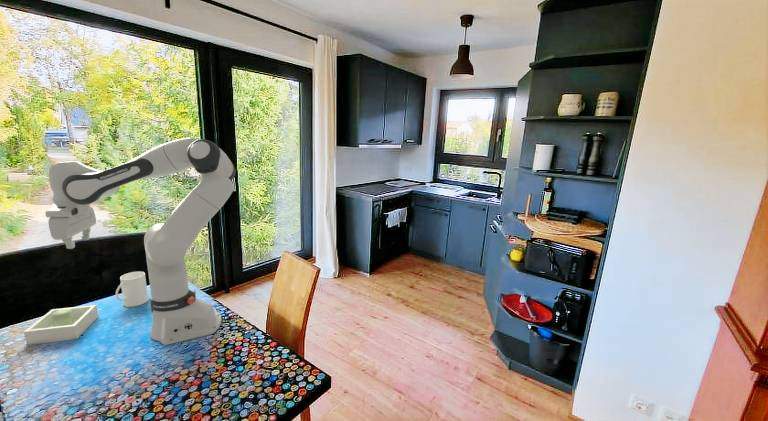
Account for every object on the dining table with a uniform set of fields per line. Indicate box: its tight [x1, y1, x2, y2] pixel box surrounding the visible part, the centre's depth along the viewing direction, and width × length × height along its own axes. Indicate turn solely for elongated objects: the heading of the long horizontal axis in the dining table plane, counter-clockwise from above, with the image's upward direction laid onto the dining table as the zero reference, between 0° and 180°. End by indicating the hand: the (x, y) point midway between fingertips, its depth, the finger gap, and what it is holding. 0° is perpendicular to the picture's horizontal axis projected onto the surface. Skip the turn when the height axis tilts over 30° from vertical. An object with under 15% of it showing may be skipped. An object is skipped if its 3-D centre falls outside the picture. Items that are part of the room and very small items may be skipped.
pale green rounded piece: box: [51, 309, 74, 327], centre depth 108 cm, size 5×5×6 cm
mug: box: [115, 271, 150, 308], centre depth 127 cm, size 12×8×12 cm
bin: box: [23, 304, 99, 346], centre depth 109 cm, size 13×14×5 cm
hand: (78, 243), depth 112 cm, fingers open, 8 cm apart
